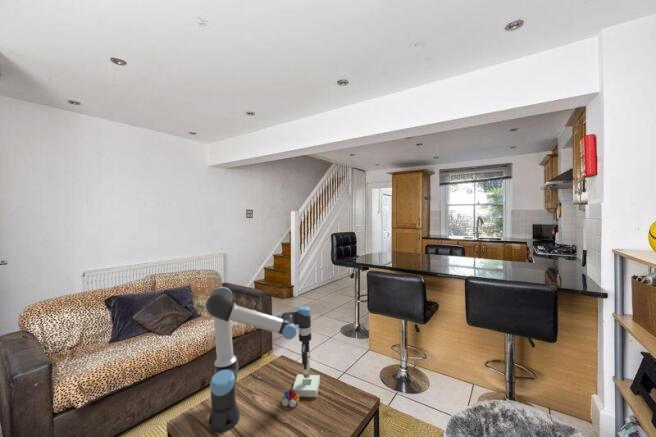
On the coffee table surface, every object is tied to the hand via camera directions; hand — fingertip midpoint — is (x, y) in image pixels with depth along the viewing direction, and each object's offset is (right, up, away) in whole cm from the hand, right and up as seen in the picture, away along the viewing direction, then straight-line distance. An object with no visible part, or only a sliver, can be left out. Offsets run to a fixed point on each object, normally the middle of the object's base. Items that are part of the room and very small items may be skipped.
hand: (306, 371), depth 164 cm
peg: (0, -3, 0) cm, 3 cm away
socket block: (0, -11, 0) cm, 11 cm away
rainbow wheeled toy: (-8, -12, -11) cm, 18 cm away
